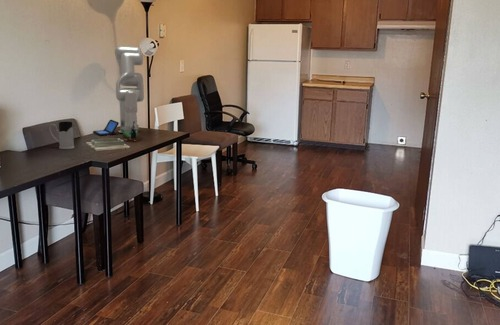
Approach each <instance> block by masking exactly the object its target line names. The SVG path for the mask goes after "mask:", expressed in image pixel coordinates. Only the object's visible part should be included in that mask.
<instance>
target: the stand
mask: <svg viewBox="0 0 500 325" xmlns="http://www.w3.org/2000/svg"><path fill="white" fill-rule="evenodd" d="M85 144H86V145H87V146H88V147H90V148H91V149H93V150H95V151H96V152H99V151H100V152H101V151H111V150H113V151H114V150H125V148H126V149H130V148H131V146H130V145H128V144H126V143H125V141H123V139H121V138H119V137H112V138H111V137H110V138H101V139H97V138H96V139H91V140H90V142H89V141H88V142H86V143H85Z"/></svg>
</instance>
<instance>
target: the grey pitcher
mask: <svg viewBox="0 0 500 325" xmlns="http://www.w3.org/2000/svg"><path fill="white" fill-rule="evenodd" d="M51 126H54V127H55V128H56V132H58V137H59V139H58V138H56V137H55V136H54V135H53V133H52V130H51ZM57 126H58V127H57ZM49 132H50V134H51V137H52V138H54V140H56V141H57V142H58V144H59V147H58V148H59V149H60V150H70V149H75V145H74V143H75V142H74V141H75V140H74V126H73V122H72V121H60V122H58V125H56V124H55V123H51V124H50V126H49Z"/></svg>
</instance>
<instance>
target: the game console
mask: <svg viewBox="0 0 500 325" xmlns="http://www.w3.org/2000/svg"><path fill="white" fill-rule="evenodd" d="M119 124H120V123H119V121H116V120H113V119H110V120H108V122H107V124H106V126H105V127H104V129H103V130H93V131H92V133H93V134H95V135H97V136H99V137H108V136H107V135H110V136H114V133H115V131H116V130H117V128H118V126H119Z"/></svg>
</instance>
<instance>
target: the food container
mask: <svg viewBox="0 0 500 325" xmlns="http://www.w3.org/2000/svg"><path fill="white" fill-rule="evenodd" d="M121 129H122V132H123V134H122V140H123V141H124V142H127V141H133V142H135V141H134V140H137V139H138V130H139V129H140V128H139V124H137V129H136V138H134V139H132V138H131V133H132V132H131V130H132V129H134V126H133V127H132V128H129V127H126V126H122V128H121V127H120V130H121ZM137 141H138V140H137Z"/></svg>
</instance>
